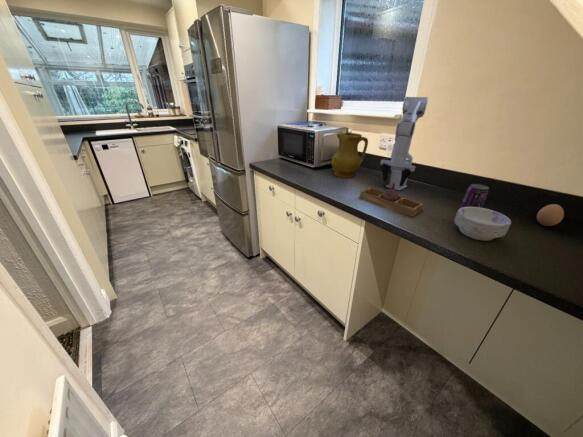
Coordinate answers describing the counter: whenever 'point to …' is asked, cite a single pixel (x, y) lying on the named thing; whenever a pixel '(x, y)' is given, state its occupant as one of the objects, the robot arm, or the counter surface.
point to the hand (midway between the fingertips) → (392, 183)
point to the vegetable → (391, 194)
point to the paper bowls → (481, 223)
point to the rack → (398, 205)
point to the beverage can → (475, 196)
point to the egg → (550, 215)
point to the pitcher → (348, 154)
